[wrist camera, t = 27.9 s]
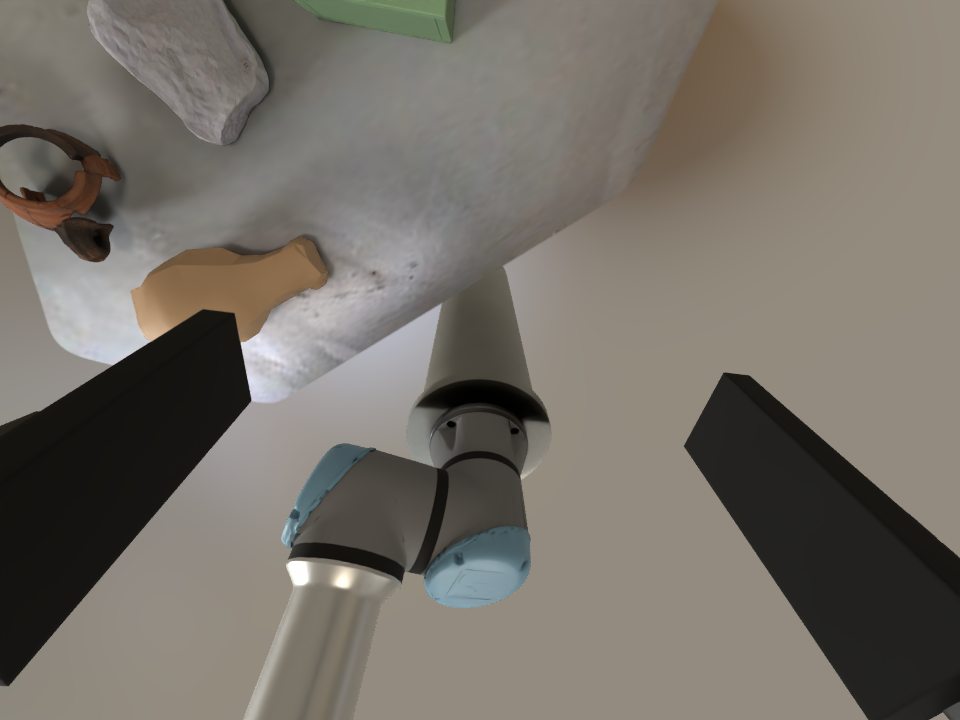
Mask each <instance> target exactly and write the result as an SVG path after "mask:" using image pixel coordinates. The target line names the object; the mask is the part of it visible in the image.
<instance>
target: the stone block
mask: <svg viewBox="0 0 960 720" xmlns="http://www.w3.org/2000/svg"><path fill="white" fill-rule="evenodd" d="M87 15H88V17H89V20H90V24H89V27H90V29H91V31H92V33H93V36H94V37H95V38H96V39H97V40H98V41H99V42H100V43H101V45H102V46H103V47H104V49H105V50H106V51H107V52H108V53H109V54H110V55H111V56H113V57H114V58H115V59H116V60H117V61H118V62H119V63H120V64H121V65H122V66H124V67H125V68H126V70H128V71H129V72H130V73H131V74H132V75H133V76H134V77H136V78H137V79H138V80H139V81H140V82H141V83H143V84H144V85H145V86H146V87H148V88H149V89H150V90H151V91H153V92H154V93H155V94H156V95H157V96H159V97H160V98H161V99H162V100H163V101H164V102H165V103H166V104H167V105H168V106H169V107H170V108H171V109H172V110H173V111H174V112H175V113H176V114H177V115H178V116H179V117H180V118H181V120H182V121H183V122H184V124H185V125H186V127H187V128H188V129H189V130H190V131H191V132H192V133H193V134H195V135H196V136H197V137H199V138H201V139H202V140H204V141H207V142H210V143H215V144H218V145H222V146H226V145H228V144H230V143H232V142H234V141H236V140H237V138H238V136H239V135H240V132H241V130H242V129H243V127H244V126H245V124H246V121H247V118H248V115H249V113H250V111H251V109H252V108H253V107H255V106H256V105H257V104H258V103H259V102H261V100H262V99H263V98H264V96H265V95H266V94H267V93H268V91H269V79H268V75H267V72H266V70H265V68H264V65H263V63H262V60H261V58H260V56H259V55H258V54H257V52H256V50H255V49H254V47H253V46H252V45H251V43H250V42H249V40H248V39H247V37H246V36H245V34H244V33H243V32H242V30H241V29H240V27H239V25H238V23H237V21H236V20H235V18H234V17H233V16H232V15H231V13H230V12H229V10H228V9H227V7H226V5H225V3H224V1H223V0H89V2H88V6H87Z"/></svg>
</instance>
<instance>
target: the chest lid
mask: <svg viewBox="0 0 960 720" xmlns="http://www.w3.org/2000/svg"><path fill="white" fill-rule="evenodd" d="M342 1H347V2H352V3H357V4H363V5H368V6H373V7H378V8H384V9H389V10H394V11H399V12H405V13H410V14H415V15H421V16H426V17H431V18H436V19H442V20H446V13H447V0H342Z"/></svg>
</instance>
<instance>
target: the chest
mask: <svg viewBox="0 0 960 720" xmlns="http://www.w3.org/2000/svg"><path fill="white" fill-rule="evenodd" d="M294 1H295V2H297V3H298V4H299V5H301V6H302V7H303V8H305V9H306V10H307V11H309V12H310V13H311V14H313V15H314V16H316V17H317V18H318V19H322V20H328V21H333V22H338V23H344V24H349V25H355V26H360V27H365V28H371V29H376V30H382V31H387V32H392V33H398V34H403V35H408V36H414V37H419V38H425V39H430V40H435V41H441V42H446V43H452V37H453V25H454V13H455V2H456V0H447V13H446V20H442V19H436V18H431V17H426V16H421V15H415V14H410V13H405V12H399V11H394V10H389V9H384V8H378V7H373V6H368V5H363V4H357V3H352V2H347V1H342V0H294Z"/></svg>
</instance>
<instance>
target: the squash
mask: <svg viewBox="0 0 960 720" xmlns="http://www.w3.org/2000/svg"><path fill="white" fill-rule="evenodd" d="M327 276H328V271H327V269H326V267H325V265H324V264H323V262H322V260H321V258H320V256H319V254H318V251H317V249H316V247H315V245H314V243H313V242H312V241H311V240H308V239H305V238H302V237H298V238H296V239H294V240H292V241H290V242H289V243H288V244H287V245H286V246H285V247H284V248H281V249H279V250H276V251H273V252H270V253H267V254H264V255H239V254H236V253H233V252H231V251H228V250H226V249H223V248H220V247H219V248H206V249H192V250H186V251H184V252H182V253H180V254H179V255H177V256H175V257H173V258H171V259H170V260H168V261H166V262H164V263H163V264H161V265H160V266H158V267H157V268H156V269H154V270H153V271H151V272H150V273H149V274H148V276H147V277H146V279H145V280H144V282H143V283H142V285H141V287H139V288H136V289H134V290H131V295H132V299H133V304H134V308H135V312H136V316H137V320H138V324H139V327H140V329H141V331H142V333H143V335H144V337H146V338H147V339H148V340H150V341H153V340H154V339H156V338H158V337H159V336H161V335H162V334H164V333H166V332H167V331H169V330H170V329H172V328H174V327H175V326H177V325H178V324H180V323H181V322H183V321H185V320H186V319H188V318H189V317H191V316H193V315H194V314H196V313H197V312H199V311H201V310H202V309H207V310H215V311H223V312H231V313H235V317H236V322H237V328H238V333H239V338H240V342H246V341H247V340H249V339H250V338H252V337H253V336H255V335H256V334H258V333H259V332H260V330H261V328H262V327H263V325H264V323H265V321H266V320H267V318H268V316H269V314H270V311H271V309H273V308H274V307H276V306H278V305H279V304H281V303H283V302H285V301H286V300H288V299H290V298H292V297H293V296H295V295H297V294H299V293H301V292H303V291H304V290H306V289H308V288H312V289H315V290H318V289H319V288H321V287H322V286H324V285H325V284H326V282H327Z"/></svg>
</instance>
